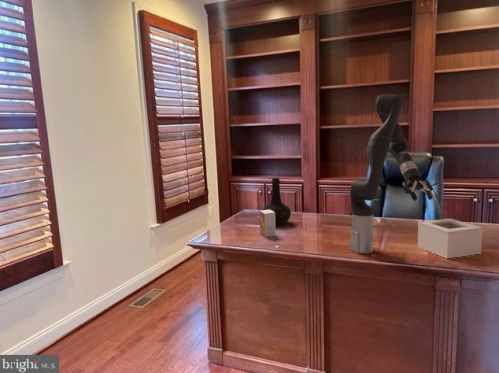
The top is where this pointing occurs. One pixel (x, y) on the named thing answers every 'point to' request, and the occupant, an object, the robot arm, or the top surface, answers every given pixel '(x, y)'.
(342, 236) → the top surface
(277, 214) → the glass bottle
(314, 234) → the top surface
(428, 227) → the slot box
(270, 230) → the small box
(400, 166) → the robot arm
